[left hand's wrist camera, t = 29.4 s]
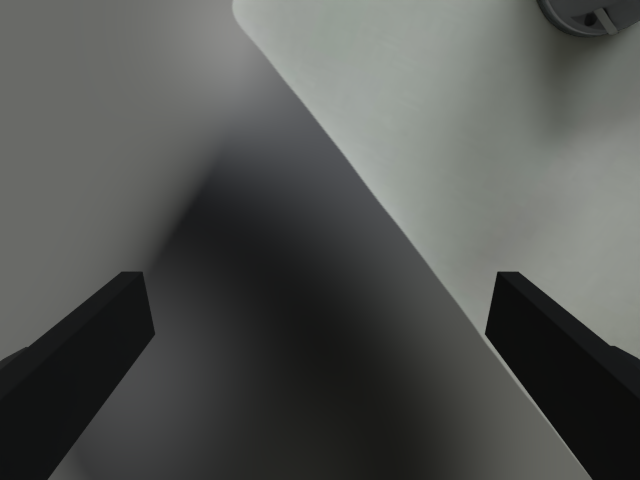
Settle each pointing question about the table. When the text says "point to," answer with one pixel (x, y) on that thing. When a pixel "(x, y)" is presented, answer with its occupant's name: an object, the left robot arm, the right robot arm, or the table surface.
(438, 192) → the table surface
